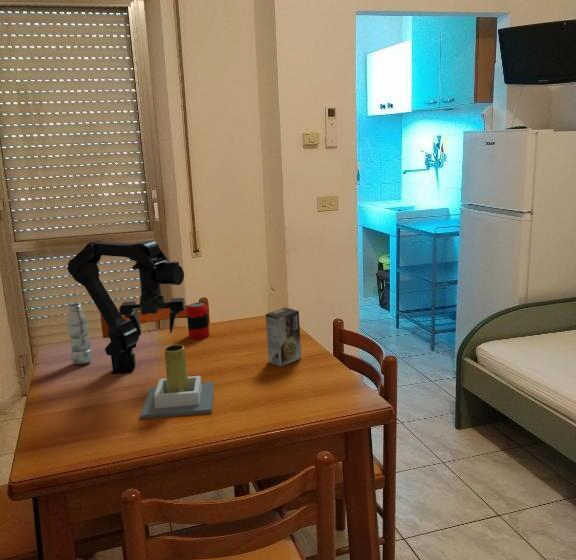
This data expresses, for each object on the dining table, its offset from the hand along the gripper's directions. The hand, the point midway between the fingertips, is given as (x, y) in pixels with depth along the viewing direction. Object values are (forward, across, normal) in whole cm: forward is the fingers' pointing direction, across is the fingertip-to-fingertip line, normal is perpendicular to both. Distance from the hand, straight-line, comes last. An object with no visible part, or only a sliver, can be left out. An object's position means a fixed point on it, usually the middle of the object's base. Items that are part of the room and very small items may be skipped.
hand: (155, 333), depth 168 cm
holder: (+13, +8, -21) cm, 26 cm away
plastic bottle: (+13, -27, +15) cm, 34 cm away
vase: (+12, +8, -21) cm, 25 cm away
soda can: (+13, +10, +35) cm, 39 cm away
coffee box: (+13, +39, +3) cm, 41 cm away
